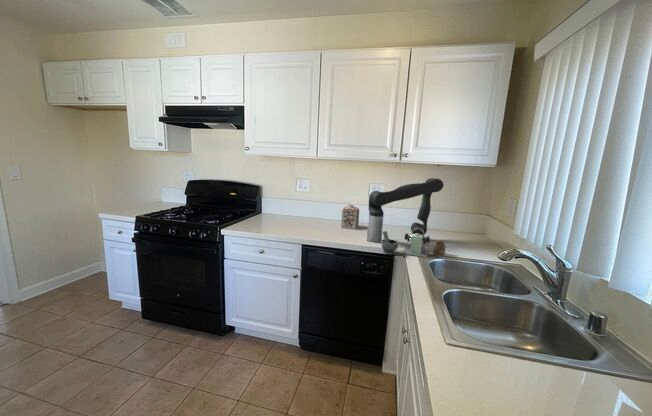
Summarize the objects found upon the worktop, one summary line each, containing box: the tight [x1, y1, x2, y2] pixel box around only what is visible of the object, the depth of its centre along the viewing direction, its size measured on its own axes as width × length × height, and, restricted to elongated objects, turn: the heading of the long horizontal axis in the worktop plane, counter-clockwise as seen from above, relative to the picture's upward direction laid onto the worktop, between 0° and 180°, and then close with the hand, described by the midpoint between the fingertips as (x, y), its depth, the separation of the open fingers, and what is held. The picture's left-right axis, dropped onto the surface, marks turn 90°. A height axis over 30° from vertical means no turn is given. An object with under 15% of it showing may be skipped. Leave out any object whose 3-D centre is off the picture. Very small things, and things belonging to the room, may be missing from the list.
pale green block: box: [409, 233, 423, 254], centre depth 160 cm, size 6×6×11 cm
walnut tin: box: [432, 239, 447, 257], centre depth 160 cm, size 6×6×8 cm
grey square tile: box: [402, 246, 428, 259], centre depth 161 cm, size 13×13×1 cm
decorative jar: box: [340, 203, 360, 230], centre depth 215 cm, size 12×12×18 cm
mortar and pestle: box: [380, 230, 399, 255], centre depth 159 cm, size 11×9×12 cm
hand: (416, 241), depth 158 cm, fingers open, 8 cm apart
